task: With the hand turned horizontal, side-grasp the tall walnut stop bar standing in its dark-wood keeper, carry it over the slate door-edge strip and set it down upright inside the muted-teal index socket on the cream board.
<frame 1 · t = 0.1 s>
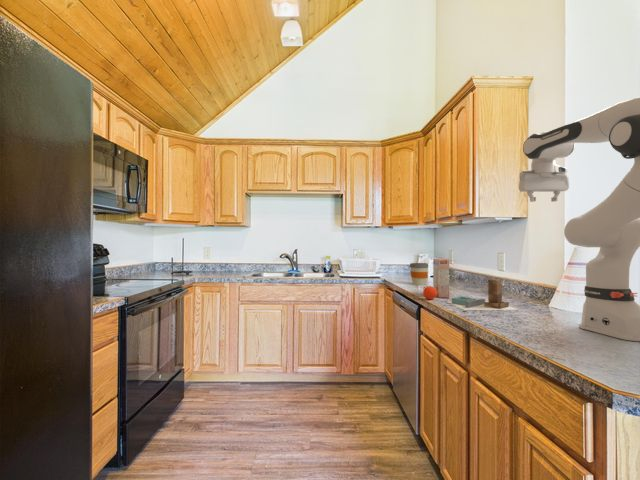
hand: (543, 201, 141), 48 cm above the counter, tool pointing down, fingers open, 8 cm apart
jamb board: (479, 307, 146), on the counter
index socket: (463, 305, 150), resting on jamb board
stop bar: (495, 306, 143), point 1 cm above the counter, touching jamb board
keeper: (495, 308, 143), resting on jamb board
clementine: (429, 299, 168), on the counter
reusable coffee cup: (419, 284, 228), on the counter
cracker box: (441, 296, 178), on the counter
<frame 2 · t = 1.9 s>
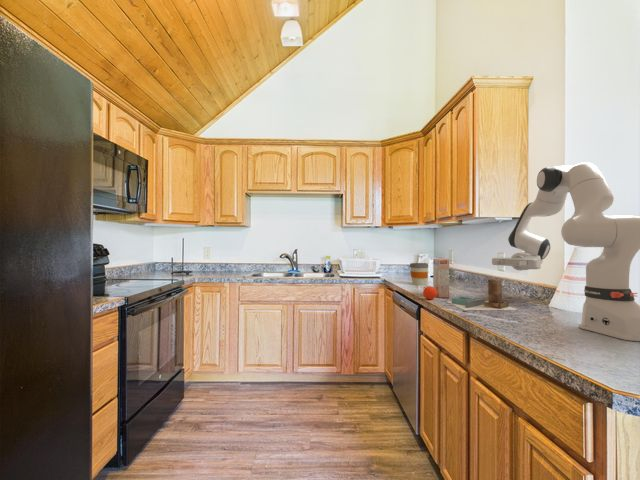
hand: (507, 262, 151), 20 cm above the counter, tool horizontal, fingers open, 8 cm apart
nothing on the counter moved.
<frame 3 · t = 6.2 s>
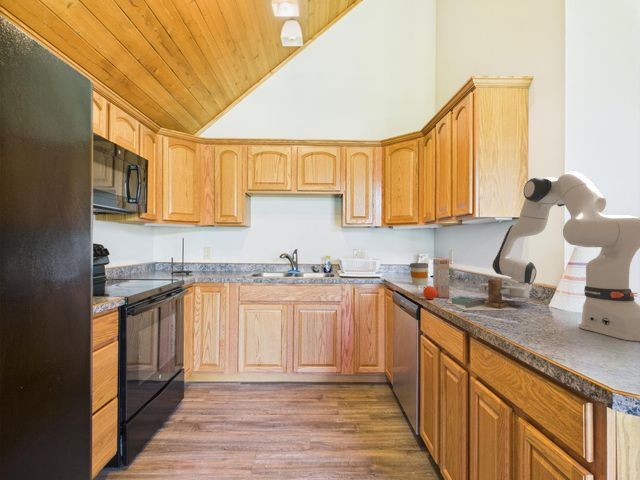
hand: (494, 291, 143), 8 cm above the counter, tool horizontal, fingers closed on stop bar, 4 cm apart
stop bar: (495, 306, 143), point 1 cm above the counter, touching gripper, jamb board
everything else where it was.
when the fingers open (9 cm above the counter, at t = 11.1 s): stop bar drops 1 cm, resting on jamb board.
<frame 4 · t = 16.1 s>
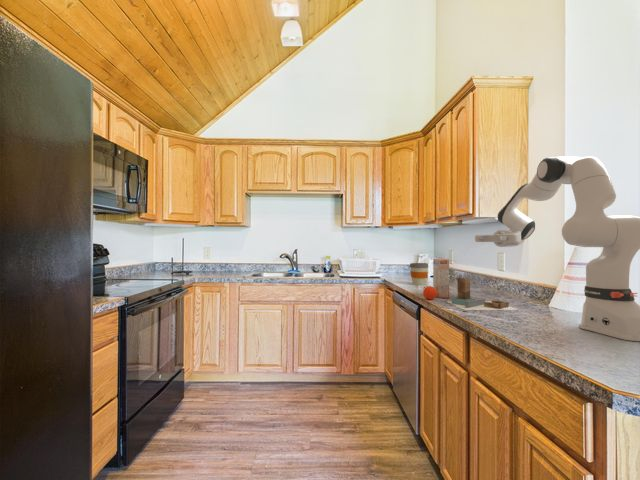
hand: (488, 238, 156), 32 cm above the counter, tool horizontal, fingers open, 8 cm apart
stop bar: (463, 303, 151), point 1 cm above the counter, touching jamb board
everything else where it was.
at the end: stop bar 0.1 cm off-centre on the index socket, point 1.0 cm above the index socket's base; stop bar tilted 0°; the gripper is holding nothing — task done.
